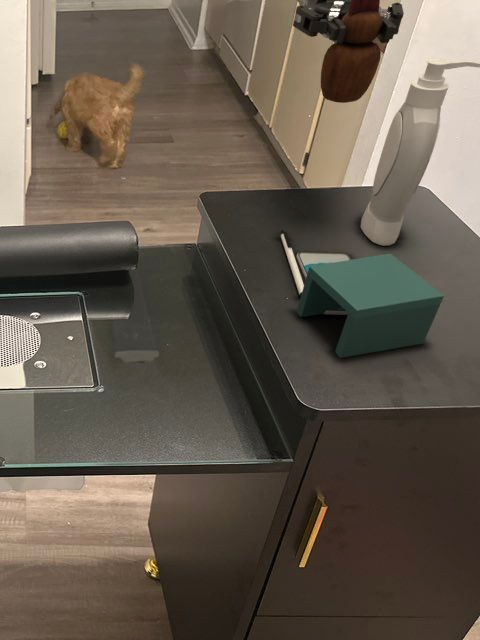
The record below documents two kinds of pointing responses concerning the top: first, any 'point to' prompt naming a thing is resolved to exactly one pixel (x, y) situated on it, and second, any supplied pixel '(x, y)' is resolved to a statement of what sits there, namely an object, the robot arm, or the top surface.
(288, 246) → the pen
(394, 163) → the soap bottle
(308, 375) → the top surface
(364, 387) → the top surface
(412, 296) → the shelf
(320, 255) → the smartphone
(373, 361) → the top surface
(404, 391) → the top surface
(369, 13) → the wooden figurine
